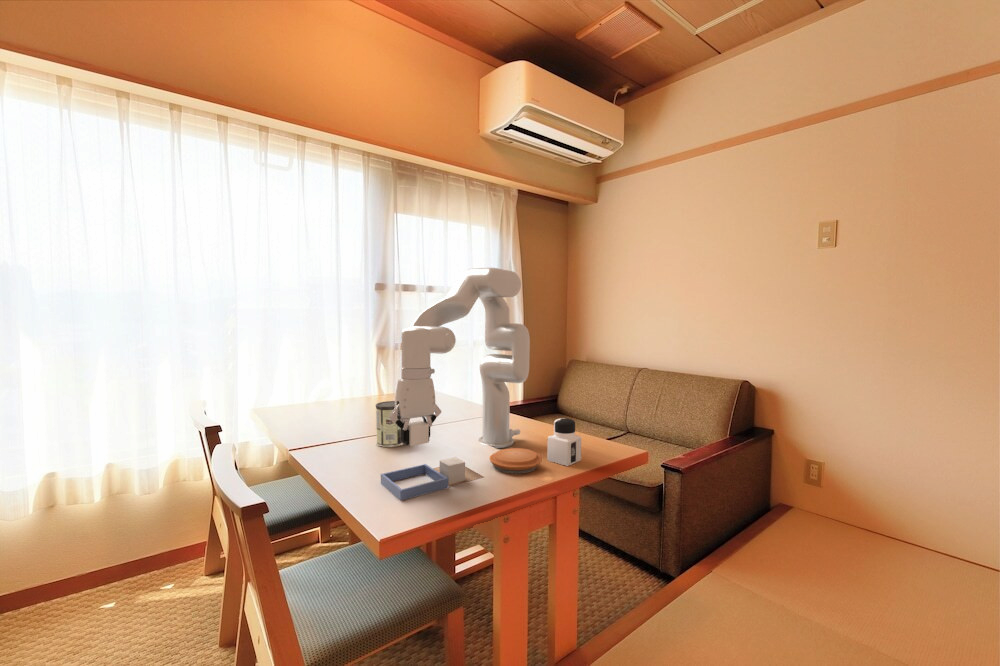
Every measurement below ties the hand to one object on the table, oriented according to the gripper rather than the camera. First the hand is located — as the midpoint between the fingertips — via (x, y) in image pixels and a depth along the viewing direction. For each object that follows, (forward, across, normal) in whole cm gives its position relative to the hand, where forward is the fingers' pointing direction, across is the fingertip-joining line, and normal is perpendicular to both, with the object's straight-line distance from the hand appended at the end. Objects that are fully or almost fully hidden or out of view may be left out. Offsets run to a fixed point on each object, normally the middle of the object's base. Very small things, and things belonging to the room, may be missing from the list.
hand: (415, 441), depth 114 cm
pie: (+12, -29, +6) cm, 32 cm away
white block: (0, 0, 0) cm, 0 cm away
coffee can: (+12, -9, -40) cm, 42 cm away
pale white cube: (+11, -8, +5) cm, 14 cm away
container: (+12, -46, +9) cm, 48 cm away
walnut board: (+12, -11, +1) cm, 16 cm away
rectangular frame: (+12, +2, +2) cm, 12 cm away
